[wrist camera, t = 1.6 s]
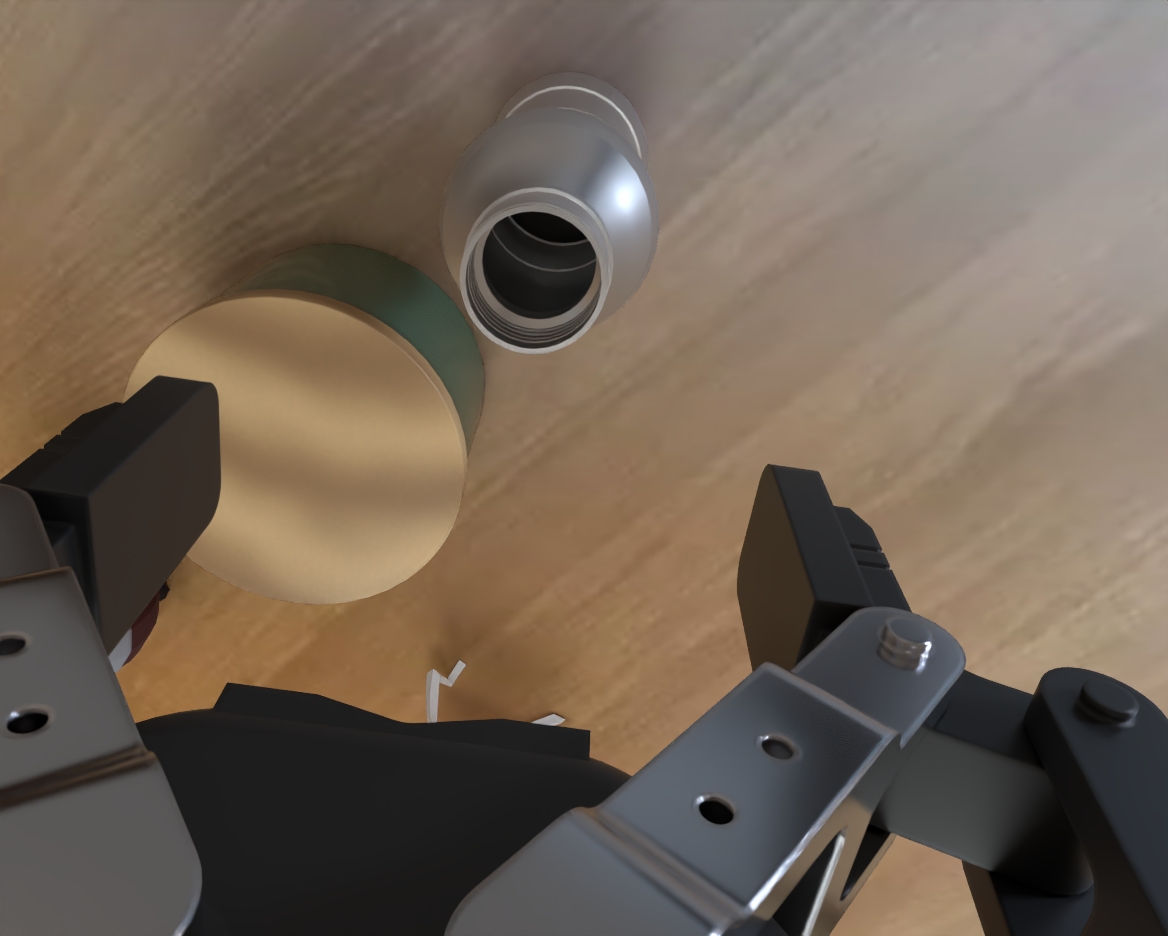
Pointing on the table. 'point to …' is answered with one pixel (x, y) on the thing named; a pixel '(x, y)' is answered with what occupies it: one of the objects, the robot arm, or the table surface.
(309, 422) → the crock
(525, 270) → the silver metal bottle
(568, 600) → the table surface
